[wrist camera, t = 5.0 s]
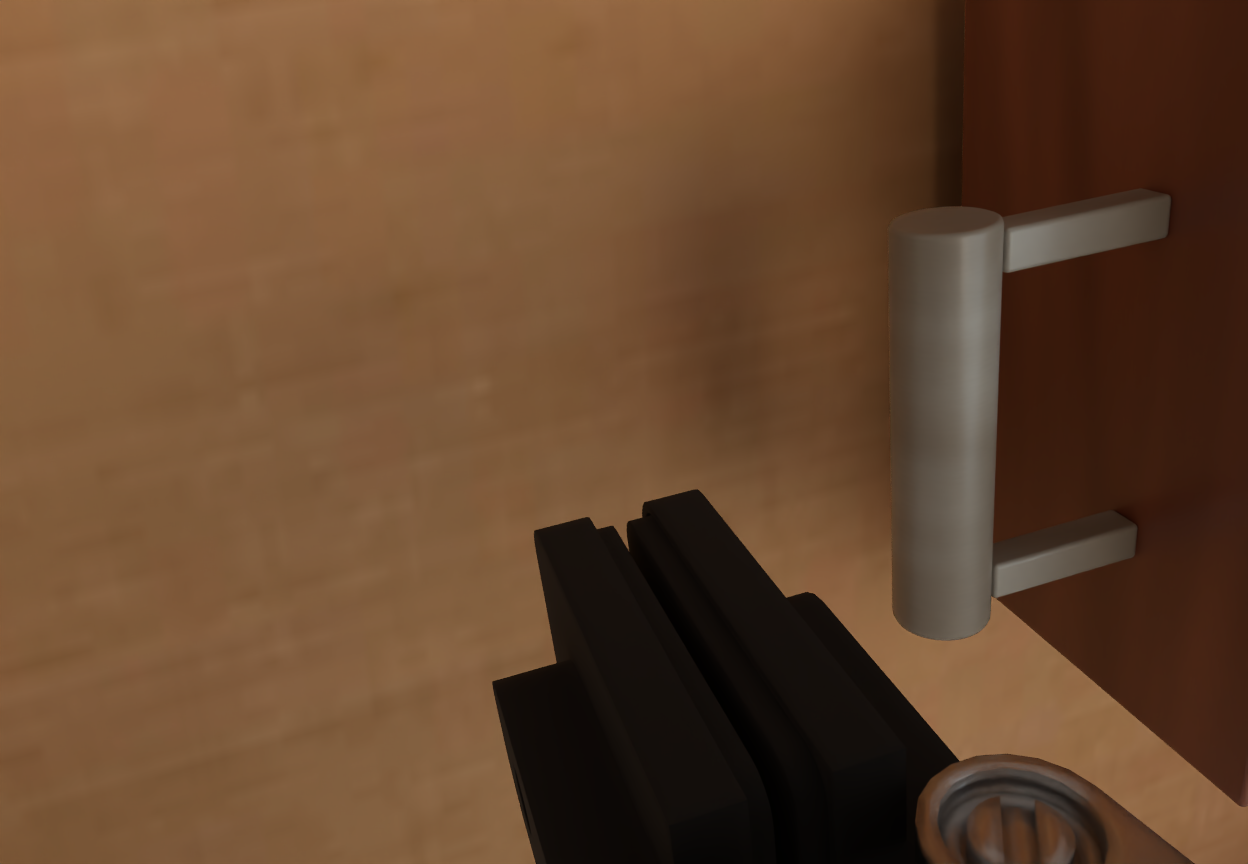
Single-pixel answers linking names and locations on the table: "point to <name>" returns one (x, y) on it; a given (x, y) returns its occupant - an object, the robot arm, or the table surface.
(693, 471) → the table surface
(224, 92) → the table surface
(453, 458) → the table surface
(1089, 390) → the drawer
